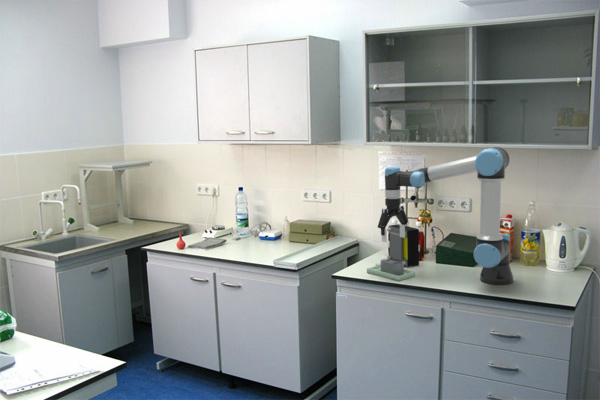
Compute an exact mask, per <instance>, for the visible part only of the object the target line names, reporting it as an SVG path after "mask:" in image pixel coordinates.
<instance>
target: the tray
mask: <svg viewBox="0 0 600 400" xmlns="http://www.w3.org/2000/svg"><path fill="white" fill-rule="evenodd" d="M366 273H367V274H371V275H373V276H377V277H381V278H385V279H389V280H392V281H396V282H402V281H405V280H409V279H411V278H415V277H416V272H415V271H413V270H410V269H409V270H408V269H405V268H404V275H401V276H397V275H393V274H389V273H385V272H381V267H378V266H376V265H374V266H371V267H367V268H366Z"/></svg>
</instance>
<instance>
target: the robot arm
mask: <svg viewBox="0 0 600 400" xmlns="http://www.w3.org/2000/svg"><path fill="white" fill-rule="evenodd" d="M509 163H510V155H509V153H508V151H507V150H505V148H502V147H500V146H493V147H489V148H485V149H482V151H480V152H478V154H476V155H473V156H470V157H465V158H460V159H457V160H454V161H449V162H445V163H440V164H435V165H432V166H427V167H422V168H418V169H416V170H415V169H414V170H411V171H409V170H407V171H402V170H401V168H400V166H387V167H386V168H385V169H384V185H385V186H384V196H385V198H384V199H385V201H384V202H385V206H386V208H382V209H381V215H380V217H379V221H378V224H377V228H378V229H380V235H381V242H383V243H384V242H385V243H387V242H388V239H387V238H388V236H387V235H388V234H387V233H388V231H387V226H388V225H389V222H390V220H391V219H392V218H393V217H396V219H397V220H398V222H399V223H400V237H403V238H405V226H407V224H408V223H409V220H408V217H407V213H406V212H405V206H404V205H401V187H410V188H411V187H412V188H422V187H423V186H424V184H427V183H432V182H436V181H441V180H445V179H450V178H455V177H458V176H460V177H461V176H465V175H470V174H473V173H477V180H479V182H480V210H479V211H480V214H479V215H480V219H479V222H480V223H479V234H478V235H477V236H476V240H475V241H476V244H475V245H476V247H475V248H474V250H473V258H474V261H475V262H476V263H477V265H478V266H481V267H482V269H481V271H480V275H479V279H480V282H482V283H485V284H490V285H508V284H512V283H514V275H513V271H512V269H511V265H510V264H511V263H510V259H511V258H510V257H511V236H510V235H509V234H506V233H500V232H501V195H502V194H501V193H502V190H501V188H502V187H501V185H502V181H503V180H505V175H506V174H505V173H506V172H505V170H506V169H507V167H509Z"/></svg>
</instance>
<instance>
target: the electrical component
mask: <svg viewBox="0 0 600 400" xmlns="http://www.w3.org/2000/svg"><path fill="white" fill-rule="evenodd" d="M400 224H401V223H400ZM400 224H398V223H397V224H388V225H387V226H388V227H386V229H387V233H388V246H389V247H388V251H389V252H388V253H389V254H388V256H386V258H387V259H388V260H392V261H397V262H401V263H404V267H406V268H411V267H417V266H420V229H419V228H416V227H412V226H407V225H405V238H403V237H400Z"/></svg>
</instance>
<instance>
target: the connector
mask: <svg viewBox="0 0 600 400" xmlns="http://www.w3.org/2000/svg"><path fill="white" fill-rule="evenodd" d="M375 266H378V267H381V272H385V273H389V274H393V275H397V276H401V275H404V269H405V268H404V267H405V266H404V263H401V262H397V261H392V260H388V259H385V258H384V259H380V262H377V263H375Z"/></svg>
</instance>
